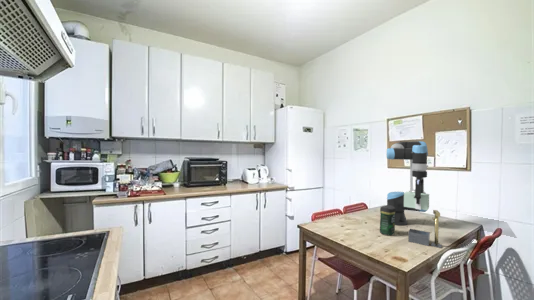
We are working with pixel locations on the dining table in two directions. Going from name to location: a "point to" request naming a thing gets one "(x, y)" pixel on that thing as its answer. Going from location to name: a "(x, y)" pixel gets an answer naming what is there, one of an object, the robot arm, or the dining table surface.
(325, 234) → the dining table surface
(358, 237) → the dining table surface
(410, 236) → the block
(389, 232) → the coffee jar
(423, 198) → the mint green block
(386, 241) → the dining table surface
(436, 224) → the t key
